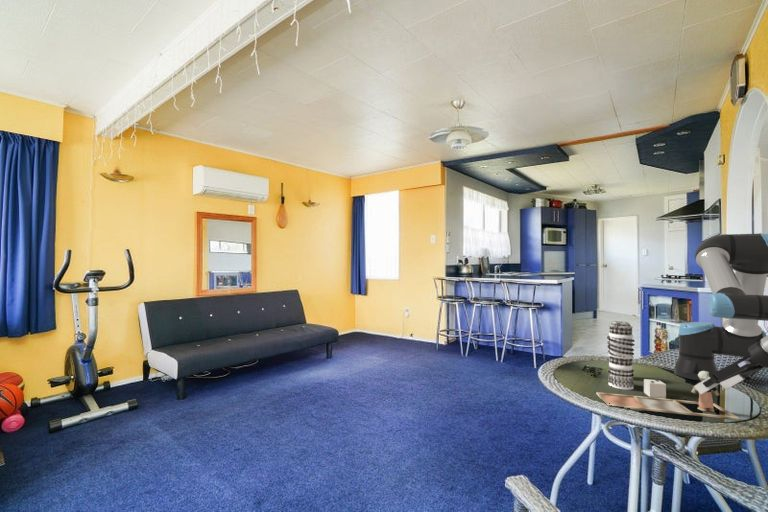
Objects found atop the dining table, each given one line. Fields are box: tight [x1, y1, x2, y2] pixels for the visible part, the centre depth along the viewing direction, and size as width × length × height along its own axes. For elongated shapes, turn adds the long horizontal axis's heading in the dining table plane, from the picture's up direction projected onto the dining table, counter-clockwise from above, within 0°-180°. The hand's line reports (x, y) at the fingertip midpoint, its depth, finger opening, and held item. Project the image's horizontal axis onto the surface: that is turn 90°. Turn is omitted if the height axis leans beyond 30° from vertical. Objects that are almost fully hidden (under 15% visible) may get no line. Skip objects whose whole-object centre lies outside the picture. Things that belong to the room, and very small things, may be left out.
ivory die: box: [643, 378, 667, 399], centre depth 134 cm, size 5×5×6 cm
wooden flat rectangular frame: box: [596, 391, 741, 421], centre depth 124 cm, size 36×13×1 cm, turn 75°
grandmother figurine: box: [691, 371, 720, 413], centre depth 121 cm, size 8×4×13 cm, turn 91°
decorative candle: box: [606, 320, 636, 391], centre depth 144 cm, size 9×9×25 cm
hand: (710, 387), depth 119 cm, fingers open, 13 cm apart
